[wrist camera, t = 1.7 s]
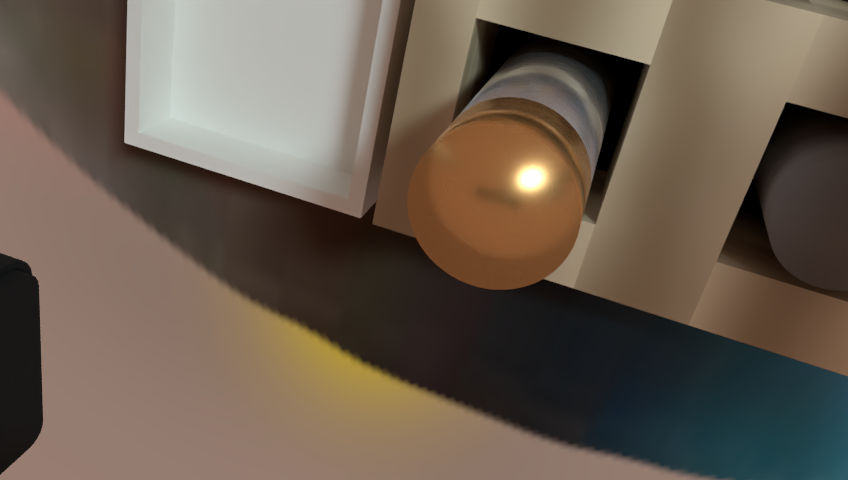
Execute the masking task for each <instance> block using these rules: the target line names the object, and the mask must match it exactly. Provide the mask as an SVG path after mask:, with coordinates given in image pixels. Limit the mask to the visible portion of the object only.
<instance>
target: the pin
mask: <svg viewBox="0 0 848 480" xmlns="http://www.w3.org/2000/svg"><path fill="white" fill-rule="evenodd" d="M615 88H616V79H615V72H614V69H613V65H612V63H611V61H610V59H609V57H608V55H607V54H606V53H604V52H601V51H597V50H593V49H589V48H586V47H582V46H578V45H575V44H571V43H567V42H564V41H560V40H556V39H552V38H549V37H545V36H541V35H538V34H535V35H533V36H531V37H530V38H528V39H527V40H525V41H524V42H523V43H522V44H521V45H520V46H519V47H518V48H517V49H516V50H515V51H514V52H513V54H512V55H511V56H510V57H509V58H508V59H507V60H506V62H505V63H504V64H503V65H502V66H501V67H500V68H499V70H498V71H497V72H496V73H495V74H494V75H493V76H492V78H491V79H490V80H489V81H488V82H487V83H486V84H485V86H484V87H483V88H482V89H481V90H480V91H479V92H478V94H477V95H476V96H475V97H474V98H473V99H472V100H471V102H470V103H469V104H468V105H467V106H466V107H465V108H464V109H463V111H462V112H461V113H460V114H459V115H458V116H457V117H456V119H455V120H454V121H453V122H452V123H451V124H450V125H449V127H448V128H447V129H446V130H445V131H444V132H443V133H442V135H441V136H440V137H439V138H438V139H437V140H436V141H435V143H434V144H433V145H432V146H431V147H430V148H429V149H428V151H427V152H426V153H425V154H424V155H423V156H422V158H421V159H420V161H419V162H418V164H417V165H416V167H415V169H414V172H413V174H412V176H411V180H410V183H409V188H408V195H407V208H408V216H409V220H410V224H411V227H412V230H413V232H414V235H415V237H416V239H417V241H418V242H419V244H420V246H421V247H422V249H423V250H424V252H425V253H426V254H427V256H428V257H429V258H430V259H431V260H432V261H433V262H434V263H435V264H436V265H437V266H439V267H440V268H441V269H442V270H443V271H445V272H446V273H448V274H449V275H451V276H452V277H454V278H456V279H458V280H460V281H462V282H465V283H467V284H470V285H473V286H476V287H480V288H486V289H492V290H508V289H516V288H521V287H525V286H528V285H531V284H534V283H536V282H538V281H540V280H542V279H544V278H546V277H547V276H548V275H550V274H551V273H553V272H554V271H555V270H556V269H557V268H558V267H559V266H560V265H561V264H562V263H563V262H564V261H565V260H566V258H567V257H568V255H569V254H570V252H571V250H572V249H573V247H574V244H575V242H576V240H577V237H578V233H579V229H580V225H581V221H582V218H583V214H584V210H585V206H586V202H587V199H588V195H589V191H590V187H591V183H592V179H593V176H594V172H595V168H596V164H597V160H598V156H599V153H600V149H601V145H602V141H603V137H604V133H605V130H606V126H607V122H608V118H609V114H610V110H611V107H612V103H613V99H614V95H615Z"/></svg>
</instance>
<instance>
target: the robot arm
mask: <svg viewBox="0 0 848 480" xmlns="http://www.w3.org/2000/svg"><path fill="white" fill-rule="evenodd" d="M41 377H42V374H41V341H40V310H39V285H38V280H37V279H36V277H34V276H32V272H31V268H30V267H29V265H28V264H27V263H25V262H23V261H22V260H19V259H15V258H12V257H10V256H7V255H4V254H1V253H0V474H1V473H2V472H4V471H5V470H6V469H7V468H8V467H9V466H10V465H11V464H12V463H13V462H15V461H16V460H17V459H18V458H19V457H20V456H21V455H22V454H23V453H24V452H25V451H27V450H28V449H29V448H30V447H31V446H32V445H33V444H34V442H35V441H36V439H37V437H38V436H39V434H40V431H41V428H42V424H43V409H42V408H43V407H42V378H41Z"/></svg>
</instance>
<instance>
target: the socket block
mask: <svg viewBox="0 0 848 480" xmlns="http://www.w3.org/2000/svg"><path fill="white" fill-rule="evenodd" d="M500 24H501V25H504V26H508V27H512V28H515V29H519V30H523V31H527V32H530V33H534V34H538V35H541V36H545V37H549V38H552V39H556V40H560V41H564V42H567V43H571V44H575V45H578V46H582V47H586V48H589V49H593V50H597V51H601V52H604V53H608V54H612V55H615V56H619V57H623V58H626V59H630V60H634V61H638V62H641V63H644V65H643V68H642V70H641V73H640V76H639V79H638V82H637V85H636V88H635V91H634V94H633V97H632V100H631V103H630V106H629V109H628V112H627V115H626V118H625V120H624V123H623V126H622V129H621V132H620V135H619V138H618V141H617V144H616V147H615V150H614V153H613V156H612V159H611V162H610V165H609V168H608V170H607V172H606V171H603V170H599V169H596V168H595V172H594V176H593V179H592V183H591V187H590V191H589V195H588V199H587V202H586V206H585V210H584V214H583V218H582V221H581V225H580V229H579V233H578V237H577V240H576V242H575V244H574V247H573V249H572V250H571V252H570V254H569V255H568V257H567V258H566V260H565V261H564V262H563V263H562V264H561V265H560V266H559V267H558V268H557V269H556V270H555V271H554V272H553V273H551V274H550V275H548V276H547V277H546V278H544V279H546V280H549V281H552V282H555V283H558V284H561V285H564V286H567V287H571V288H574V289H577V290H580V291H583V292H586V293H589V294H592V295H595V296H599V297H602V298H605V299H608V300H611V301H614V302H617V303H620V304H624V305H627V306H630V307H633V308H636V309H639V310H642V311H645V312H649V313H652V314H655V315H658V316H661V317H664V318H667V319H670V320H674V321H677V322H680V323H683V324H686V325H689V326H692V327H695V328H698V329H702V330H705V331H708V332H711V333H714V334H717V335H720V336H723V337H727V338H730V339H733V340H736V341H739V342H742V343H745V344H748V345H752V346H755V347H758V348H761V349H764V350H767V351H770V352H773V353H777V354H780V355H783V356H786V357H789V358H792V359H795V360H798V361H802V362H805V363H808V364H811V365H814V366H817V367H820V368H823V369H826V370H830V371H833V372H836V373H839V374H842V375H845V376H848V2H845V1H841V0H415V4H414V10H413V15H412V20H411V25H410V30H409V36H408V41H407V46H406V51H405V56H404V62H403V67H402V72H401V77H400V82H399V88H398V93H397V98H396V103H395V109H394V114H393V119H392V124H391V129H390V135H389V140H388V145H387V150H386V155H385V161H384V166H383V171H382V176H381V181H380V187H379V192H378V197H377V202H376V207H375V213H374V218H373V223H372V224H374V225H377V226H380V227H383V228H386V229H389V230H393V231H396V232H399V233H402V234H405V235H408V236H411V237H414V238H416V237H415V235H414V232H413V230H412V227H411V224H410V220H409V216H408V208H407V195H408V188H409V183H410V180H411V176H412V174H413V172H414V169H415V167H416V165H417V164H418V162H419V161H420V159H421V158H422V156H423V155H424V154H425V153H426V152H427V151H428V149H429V148H430V147H431V146H432V145H433V144H434V143H435V141H436V140H437V139H438V138H439V137H440V136H441V135H442V133H443V132H444V131H445V130H446V129H447V128H448V127H449V125H450V124H451V123H452V122H453V121H454V120H455V119H456V117H457V116H458V115H459V114H460V113H461V112H462V111H463V109H464V108H465V107H466V106H467V105H468V104H469V103H470V102H471V100H472V99H473V98H474V97H475V96H476V95H477V94H478V92H479V91H480V90H481V89H482V88H483V87H484V86H485V83H486V79H487V75H488V70H489V66H490V62H491V58H492V54H493V50H494V46H495V42H496V38H497V34H498V30H499V26H500ZM786 102H789V103H793V104H794V105H792V106H789V107H787V108H785V109H784V110H783V108H784V106H785V103H786ZM753 178H754V182H755V186H756V190H757V194H758V197H759V201H760V205H761V209H762V213H763V217H764V218H762V217H759V216H755V215H752V214H749V213H745V212H742V211H739V208H740V206H741V204H742V202H743V199H744V197H745V195H746V192H747V190H748V188H749V186H750V183H751V181H752V179H753Z"/></svg>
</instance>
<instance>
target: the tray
mask: <svg viewBox="0 0 848 480" xmlns="http://www.w3.org/2000/svg"><path fill="white" fill-rule="evenodd" d="M414 4H415V0H127V45H126V91H125V137H124V143H127V144H130V145H133V146H136V147H139V148H142V149H145V150H148V151H152V152H155V153H158V154H161V155H164V156H167V157H170V158H173V159H177V160H180V161H183V162H186V163H189V164H192V165H195V166H198V167H202V168H205V169H208V170H211V171H214V172H217V173H220V174H223V175H227V176H230V177H233V178H236V179H239V180H242V181H245V182H248V183H252V184H255V185H258V186H261V187H264V188H267V189H270V190H273V191H277V192H280V193H283V194H286V195H289V196H292V197H295V198H298V199H302V200H305V201H308V202H311V203H314V204H317V205H320V206H323V207H327V208H330V209H333V210H336V211H339V212H342V213H345V214H348V215H352V216H355V217H358V218H362V216H363V215H364V214H365V213H366V212H367V211H368V210H369V209H370V208H371V206H372V205H373V204H374V203H375V202H376V201H377V197H378V192H379V187H380V181H381V176H382V171H383V166H384V161H385V155H386V150H387V145H388V140H389V135H390V129H391V124H392V119H393V114H394V109H395V103H396V98H397V93H398V88H399V82H400V77H401V72H402V67H403V62H404V56H405V51H406V46H407V41H408V36H409V30H410V25H411V20H412V15H413V10H414Z"/></svg>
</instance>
